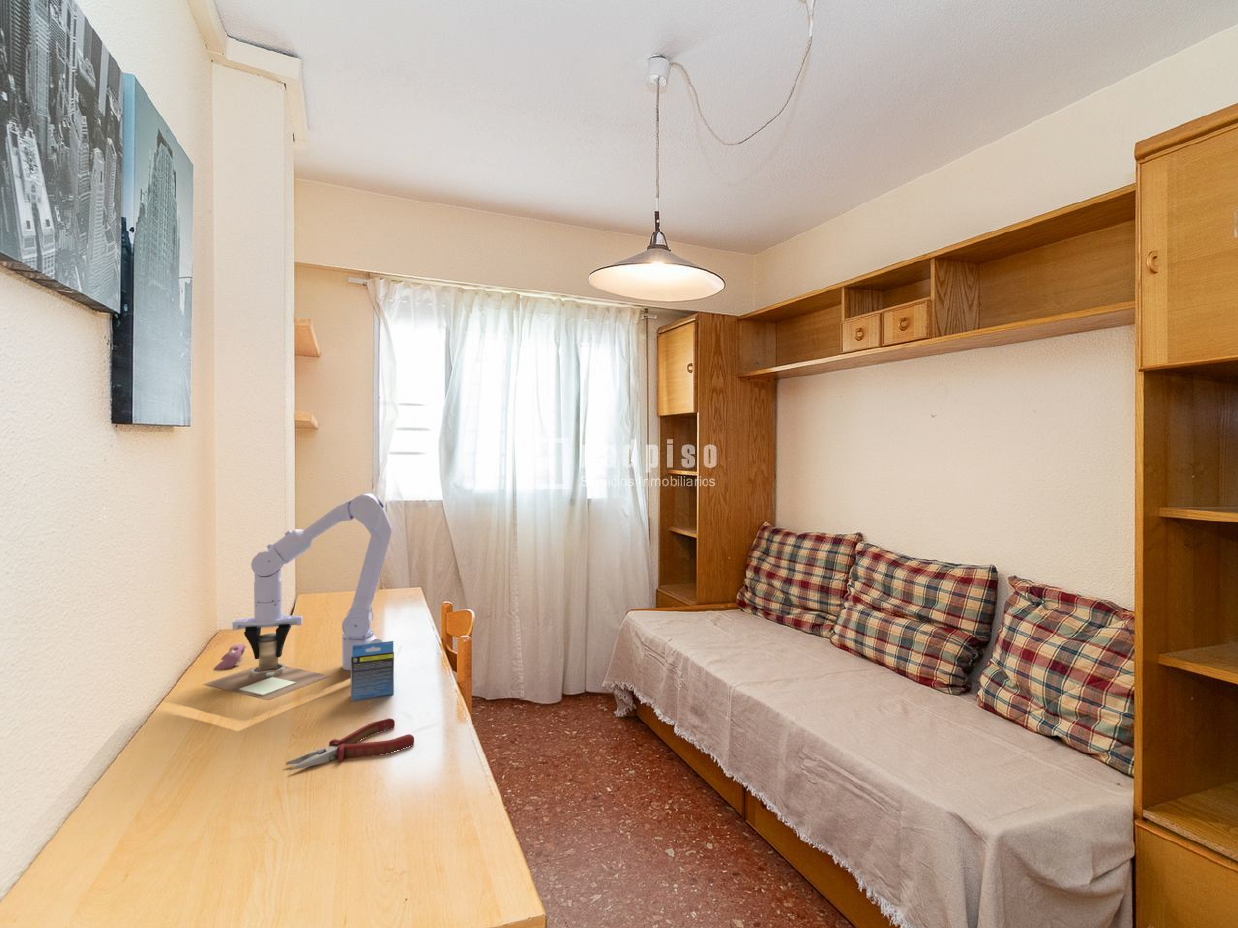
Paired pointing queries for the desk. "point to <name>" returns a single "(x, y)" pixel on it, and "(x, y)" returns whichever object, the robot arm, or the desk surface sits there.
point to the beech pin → (268, 650)
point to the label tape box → (372, 670)
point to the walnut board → (245, 678)
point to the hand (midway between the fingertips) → (268, 656)
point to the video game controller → (231, 657)
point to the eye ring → (257, 674)
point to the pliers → (355, 746)
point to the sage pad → (267, 686)
